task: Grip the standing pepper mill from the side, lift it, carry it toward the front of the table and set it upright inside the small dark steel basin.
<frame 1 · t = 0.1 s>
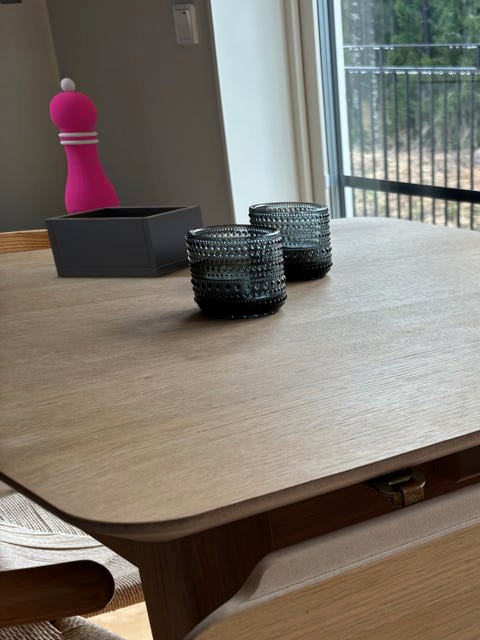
pepper mill: (100, 239, 141), on the table
basin: (135, 268, 114), on the table
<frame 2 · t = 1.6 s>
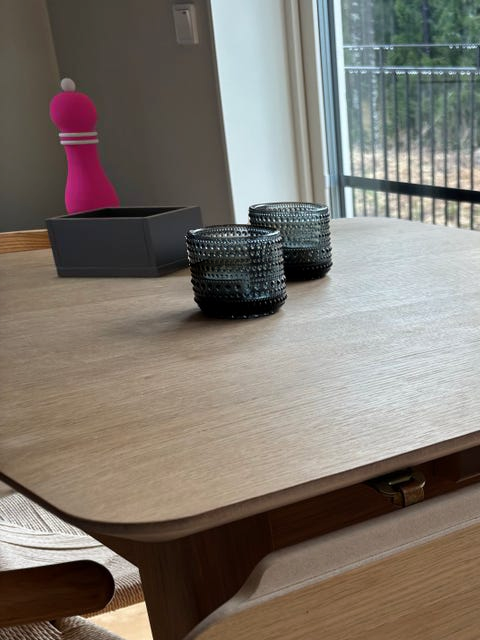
nothing on the table moved.
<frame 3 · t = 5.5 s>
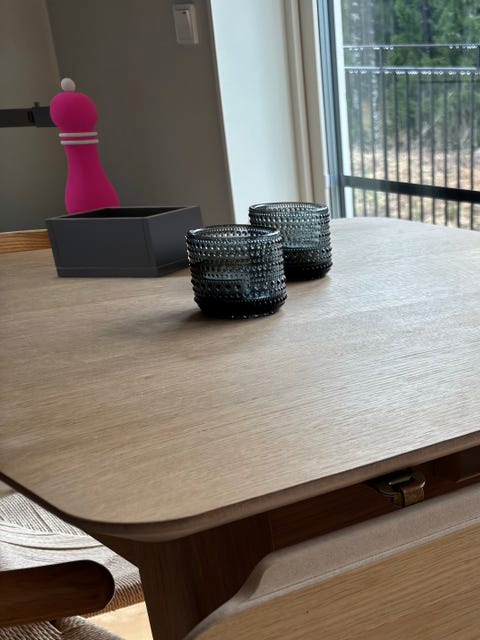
hand: (28, 118, 137), 15 cm above the table, tool horizontal, fingers open, 13 cm apart
nothing on the table moved.
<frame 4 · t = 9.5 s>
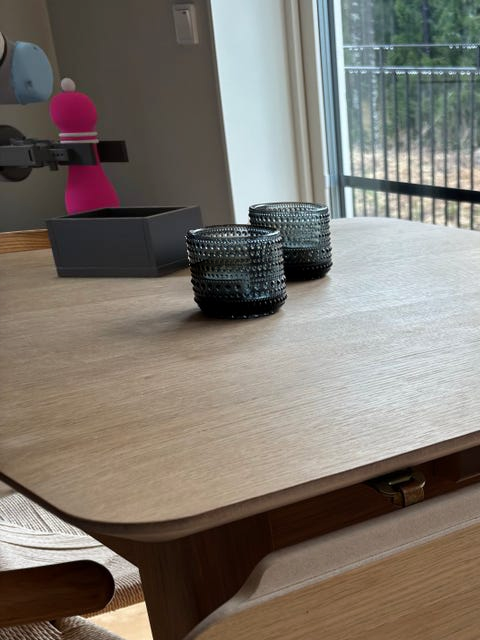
hand: (109, 152, 133), 11 cm above the table, tool horizontal, fingers closed on pepper mill, 5 cm apart
pepper mill: (99, 239, 141), on the table, touching gripper
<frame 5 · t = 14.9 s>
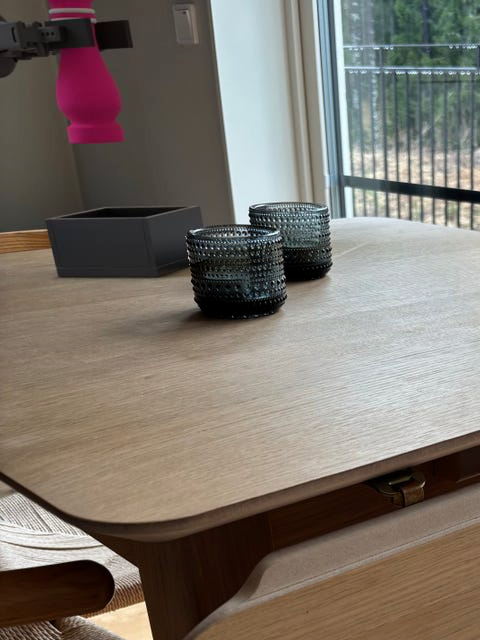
hand: (109, 33, 110), 24 cm above the table, tool horizontal, fingers closed on pepper mill, 5 cm apart
pepper mill: (97, 144, 118), point 13 cm above the table, touching gripper
when the fingers open (12 cm above the table, at t = 20.3 s): pepper mill stays where it is, resting on basin.
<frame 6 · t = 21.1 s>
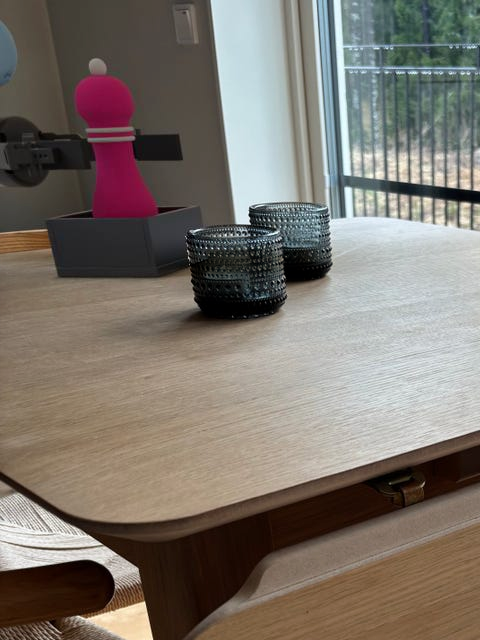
hand: (135, 151, 106), 12 cm above the table, tool horizontal, fingers open, 13 cm apart
pepper mill: (134, 260, 113), point 1 cm above the table, touching basin
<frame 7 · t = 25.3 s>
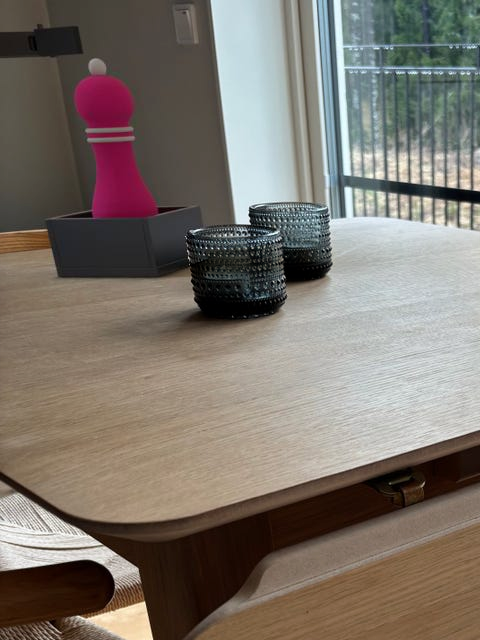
hand: (29, 37, 106), 23 cm above the table, tool horizontal, fingers open, 13 cm apart
nothing on the table moved.
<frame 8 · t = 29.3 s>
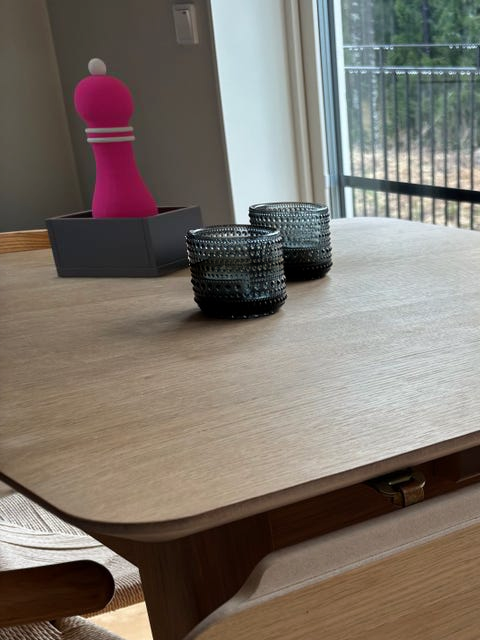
nothing on the table moved.
at the end: pepper mill inside the target area in the basin (0.0 cm from its centre), point 0.8 cm above the basin's base; pepper mill tilted 0°; the gripper is holding nothing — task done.
